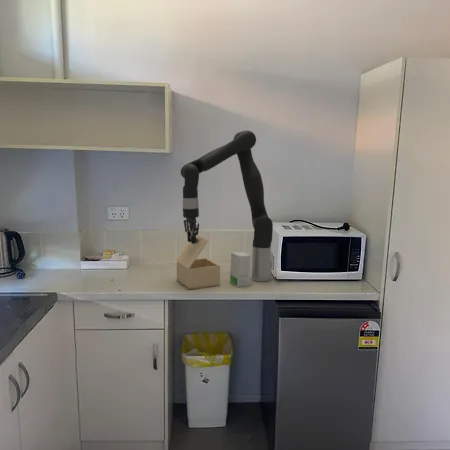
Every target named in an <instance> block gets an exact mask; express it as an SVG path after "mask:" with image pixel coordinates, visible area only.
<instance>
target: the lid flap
mask: <svg viewBox="0 0 450 450" xmlns="http://www.w3.org/2000/svg"><path fill="white" fill-rule="evenodd" d="M189 238H190V239H191V235H190V236H189ZM208 242H209V240H208V239H205V238H202V236H201V237H200V236H199V235H196V243H195V244H192V243H191V242H188V241H187V244H186V245H185V247H183V250H182V251H181V253H180V254H179V256H178V257H177V258H176V260H175V261H176V263H177V262H179V263H180V264H182V265H183V266H185V267H187V268H188V269H189V268H190V267H191V266H192V264H193V263H194V261H195V260H196V259H198V258H199V255H200V254H201V252H202V251H203V249H204V248H205V247H206V245H207V244H208Z"/></svg>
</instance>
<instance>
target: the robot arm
mask: <svg viewBox="0 0 450 450" xmlns="http://www.w3.org/2000/svg"><path fill="white" fill-rule="evenodd" d="M256 143H257V137H256V134H255V133H254V132H253V131H250V130H242V131H239V132H237V133H236V134H235V135H234V137H233V139H232V140H231V141H229V142H227V143H226V144H224V145H222V146H219V147H218V148H217V147H216V148H215V149H213V150H211V151H209V152H207V153H205V154H204V155H201V156H200V157H199V158H196V159H195V160H193V161H191V162H188V163H186V164H184V165H183V166H182V167H181V168H180V175H181V176H182V178H183V179H184V186H183V187H182V217H183V218H184V219H183V227H184V232H185V233H186V235H187V243H188V242H191V243H192V244H195V243H196V236H199V229H200V223H198V222H197V218H199V217H200V211H199V210H200V209H199V205H200V204H199V190H198V188H199V187H198V186H199V179H200V174H201V173H204V172H207V171H209V170H211V169H213V168H215V167H217V165H219V164H221V163H223V162H225V161H226V160H228V159H229V158H231V157H233V156H235V155H236V156H237V159H238V162H239V167H240V172H241V178H242V181H243V186H244V190H245V194H246V197H247V201H248V204H249V207H250V213H251V223H252V227H253V229H254V230H253V231H254V232H253V240H252V252H251V253H252V255H251V256H252V257H251V280H252V281H255V282H261V283H262V282H269V281H271V280H272V265H273V263H272V260H271V250H272V249H271V248H272V247H271V246H272V242H273V232H274V231H273V230H274V229H273V228H274V225H273V221H272V218H270V217H269V215H268V212H267V210H266V205H265V190H264V189H265V188H264V184H263V183H264V182H263V178H262V175H261V173H260V170H259V168H258V167H257V165H256V163H255V161H254V158H253V153H252V149H253V147H255V146H256ZM190 235H191V239H190V238H189V236H190Z"/></svg>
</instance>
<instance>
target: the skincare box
mask: <svg viewBox="0 0 450 450" xmlns="http://www.w3.org/2000/svg"><path fill="white" fill-rule="evenodd" d="M230 254H231V255H230V256H231V257H230V272H229V274H230V276H229V283H230V284H232V285H233V286H235V287H237V288H241V287H248V286H249V285H250V284H249V281H250V266H251V255H250V254H249V253H246V252H244V251H241V250H240V251H232V252H231V253H230Z"/></svg>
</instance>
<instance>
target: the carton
mask: <svg viewBox="0 0 450 450" xmlns="http://www.w3.org/2000/svg"><path fill="white" fill-rule="evenodd" d="M220 276H221V265H220V264H218V263H216V262H215V261H212V260H210V259H208V258H207V257H203V258H196V260H195V261H194V263H193V264H192V266H191V267H190V268H189V269H188V268H187V267H185V266H183V265H182V264H180V263H179V262H177V261H176V281H177V282H178V283H179V284H181V285H182V286H183V287H185V289H187V290H188V291H191V290H198V289H205V288H213V287H219V286H220V285H221V277H220Z"/></svg>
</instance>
